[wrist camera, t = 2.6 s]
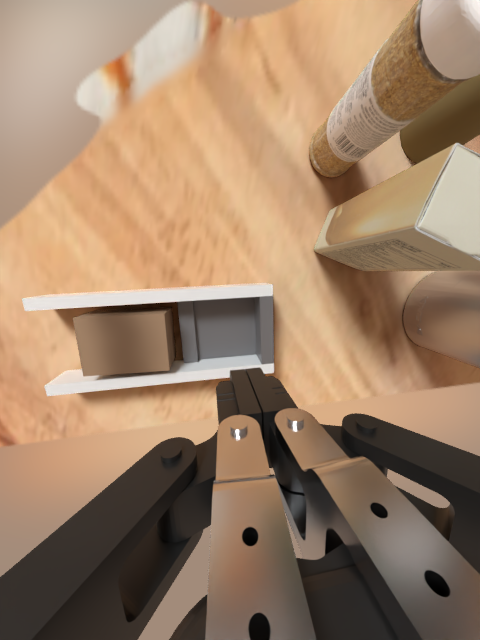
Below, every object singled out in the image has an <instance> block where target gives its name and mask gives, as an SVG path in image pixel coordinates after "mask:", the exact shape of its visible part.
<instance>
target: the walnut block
mask: <svg viewBox="0 0 480 640" xmlns="http://www.w3.org/2000/svg"><path fill="white" fill-rule="evenodd" d="M73 322H74V328H75V333H76V339H77V344H78V350H79V355H80V361H81V366H82V372H83V376H97V375H112V374H126V373H140V372H155V371H169V370H170V368H171V366H172V363H173V361H174V359H175V356H176V347H175V336H174V324H173V312H172V307H161V308H135V309H108V310H95V311H92V312H89V313H86V314H83V315H80V316H77V317H74V318H73Z"/></svg>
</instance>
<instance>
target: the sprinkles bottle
mask: <svg viewBox="0 0 480 640" xmlns="http://www.w3.org/2000/svg"><path fill="white" fill-rule="evenodd" d="M479 74H480V0H418V1H417V2H416V3H415V4H414V6H413V7H412V8H411V10H410V11H409V12H408V14H407V15H406V16H405V18H404V19H403V20H402V22H401V23H400V24H399V26H398V27H397V28H396V29H395V31H394V32H393V33H392V35H391V36H390V37H389V38H388V39H387V40H386V41H385V42H384V44H383V45H382V46H381V47H380V49H379V50H378V51H377V53H376V54H375V55H374V57H373V58H372V59H371V61H370V62H369V63H368V64H367V66H366V67H365V68H364V70H363V71H362V72H361V74H360V75H359V76H358V78H357V79H356V80H355V82H354V83H353V84H352V86H351V87H350V88H349V89H348V91H347V92H346V93H345V95H344V96H343V97H342V98H341V100H340V101H339V102H338V104H337V105H336V106H335V108H334V109H333V111H332V112H331V114H330V116H329V117H328V118H327V119H326V121H325V122H324V123H323V125H321V126H320V127H319V128H318V129H317V131H316V132H315V133H314V135H313V137H312V139H311V142H310V146H309V155H310V160H311V162H312V165H313V167H314V168H315V170H316V171H317V172H318V173H320V174H321V175H323V176H326V177H337V176H339V175H341V174H343V173H345V172H346V171H347V170H348V169H349V168H350V166H352V165H353V164H354V163H356V162H357V161H359V160H360V159H362V158H363V157H365V156H366V155H367V154H369V153H370V152H371V151H373V150H374V149H375V148H377V147H378V146H380V145H381V144H382V143H384V142H385V141H387V140H388V139H389V138H391V137H392V136H393V135H395V134H396V133H397V132H399V131H400V130H401V129H403V128H404V127H405V126H407V125H408V124H410V123H411V122H412V121H413V120H414V119H416V118H417V117H418V116H419V115H421V114H422V113H423V112H424V111H426V110H427V109H428V108H430V107H431V106H432V105H433V104H435V103H436V102H438V101H439V100H440V99H441V98H443V97H444V96H445V95H446V94H448V93H449V92H451V91H452V90H453V89H454V88H455V87H456V86H458V85H459V84H461V83H462V82H465V81H467V80H469V79H471V78H472V77H474V76H477V75H479Z"/></svg>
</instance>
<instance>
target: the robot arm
mask: <svg viewBox="0 0 480 640" xmlns="http://www.w3.org/2000/svg"><path fill="white" fill-rule="evenodd" d="M403 322H404V327H405V331H406V333H407V335H408V337H409V338H410V339H411V340H412V341H413V342H414V343H415V344H417V345H419V346H421V347H424V348H426V349H429V350H432V351H435V352H437V353H440V354H443V355H446V356H448V357H451V358H454V359H456V360H459V361H462V362H464V363H467V364H470V365H473V366H475V367H478V368H480V271H437V272H434V273H432V274H430V275H428V276H427V277H425V278H424V279H423V280H421V281H420V282H419V283H418V284H417V285H416V287H415V288H414V289H413V290H412V292H411V294H410V295H409V297H408V300H407V302H406V304H405V309H404V315H403ZM216 394H217V408H218V421H219V426H218V430H217V432H216V433H215V435H214V436H213V437H212V438H210V439H209V440H207V441H205V442H203V443H201V444H199V445H196V446H195V445H194V443H193V442H192V441H191V440H189V439H186V438H181V437H178V438H171V439H168V440H165V441H163V442H161V443H160V444H158V445H157V446H155V447H154V448H153V449H152V450H151V451H149V452H148V453H147V454H146V455H145V456H143V457H142V458H141V459H140V460H139V461H137V462H136V463H135V464H134V465H133V466H132V467H130V468H129V469H128V470H127V471H126V472H125V473H123V474H122V475H121V476H120V477H118V478H117V479H116V480H115V481H114V482H113V483H111V484H110V485H109V486H108V487H107V488H105V489H104V490H103V491H102V492H101V493H100V494H98V495H97V496H96V497H95V498H94V499H92V500H91V501H90V502H89V503H88V504H87V505H85V506H84V507H83V508H82V509H81V510H79V511H78V512H77V513H76V514H75V515H74V516H72V517H71V518H70V519H69V520H68V521H66V522H65V523H64V524H63V525H62V526H60V527H59V528H58V529H57V530H56V531H55V532H53V533H52V534H51V535H50V536H49V537H48V538H46V539H45V540H44V541H43V542H42V543H40V544H39V545H38V546H37V547H36V548H34V549H33V550H32V551H31V552H30V553H29V554H27V555H26V556H25V557H24V558H23V559H21V560H20V561H19V562H18V563H17V564H16V565H14V566H13V567H12V568H11V569H10V570H9V571H7V572H6V573H5V574H4V575H2V576H1V577H0V640H137V639H138V638H139V636H140V635H141V633H142V631H143V630H144V628H145V626H146V625H147V623H148V622H149V620H150V619H151V617H152V615H153V614H154V612H155V611H156V609H157V607H158V606H159V604H160V602H161V601H162V599H163V598H164V596H165V595H166V593H167V591H168V590H169V588H170V587H171V585H172V583H173V582H174V580H175V578H176V577H177V575H178V574H179V572H180V571H181V569H182V567H183V566H184V564H185V563H186V561H187V559H188V558H189V556H190V555H191V553H192V551H193V550H194V548H195V547H196V545H197V543H198V542H199V540H200V538H201V535H202V533H203V529H205V528H206V527H208V526H210V525H211V535H210V555H209V556H210V557H209V575H208V594H207V595H206V596H205V597H203V598H202V599H201V600H200V601H199V602H198V603H197V604H196V605H195V606H194V607H193V608H192V609H191V610H190V611H189V612H188V614H187V615H186V616H185V618H184V619H183V620H182V622H181V623H180V624H179V625H178V627H177V628H176V630H175V632H174V633H173V635H172V636H171V638H170V639H169V640H480V456H477V455H475V454H472V453H469V452H466V451H464V450H461V449H458V448H456V447H453V446H450V445H448V444H445V443H442V442H439V441H437V440H434V439H431V438H429V437H426V436H423V435H420V434H418V433H415V432H412V431H410V430H407V429H404V428H402V427H399V426H396V425H393V424H391V423H388V422H385V421H383V420H380V419H377V418H375V417H372V416H369V415H365V414H350V415H347V416H345V417H344V418H343V421H342V426H331V425H323V424H319V423H318V421H317V420H316V419H315V418H314V417H313V416H312V415H311V414H310V413H308V412H306V411H304V410H301V409H298V407H297V406H296V404H295V403H294V401H293V400H292V398H291V397H290V395H289V394H288V393H287V391H286V389H285V388H284V386H283V385H282V383H281V382H280V381H279V380H278V379H276V378H275V377H273V376H268V377H266V376H265V375H264V373H263V371H262V369H261V368H260V367H258V368H249V369H239V370H230V381H223V382H220V383H219V384H218V386H217V387H216ZM269 468H273V469H274V472H275V475H271V474H270V470H269ZM388 469H390V470H392V471H394V472H396V473H398V474H400V475H402V476H404V477H406V478H408V479H410V480H412V481H414V482H417V483H418V484H420V485H422V486H424V487H427V488H429V489H431V490H433V491H435V492H437V493H439V494H440V495H442V496H443V497H445V498H446V499H447V500H448V501H449V502H450V505H449V506H448V507H447V508H438V507H435V506H433V505H431V504H429V503H427V502H425V501H423V500H421V499H419V498H417V497H415V496H413V495H412V494H410V493H408V492H406V491H404V490H402V489H400V488H398V487H396V486H394V485H393V484H392V482H391V481H390V480H389V479H388V478H387V470H388ZM284 511H285V512H284ZM285 513H286V516H287V518H288V521H289V523H290V526H291V528H292V531H293V533H294V536H295V538H296V541H297V543H298V546H299V548H300V551H301V554H302V558H303V559H300V558H296V556H295V552H294V548H293V544H292V540H291V536H290V532H289V528H288V524H287V520H286V516H285Z"/></svg>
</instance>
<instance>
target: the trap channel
mask: <svg viewBox="0 0 480 640" xmlns="http://www.w3.org/2000/svg"><path fill="white" fill-rule="evenodd" d="M22 301H23V305H24V309H25V311H34V310H50V309H66V308H82V307H98V306H115V305H131V304H147V303H163V302H177V304H178V313H179V322H180V332H181V341H182V350H183V360H176V361H173V363H172V366H171V368H170V370H169V371H155V372H140V373H126V374H112V375H97V376H83V372H82V369H78V370H67V371H65V372H63V373H62V374H60V375H59V376H58V377H56V378H55V379H53V380H52V381H50V382H49V383H48V384H46V385H45V390H46V393H47V396H53V395H63V394H73V393H83V392H92V391H102V390H112V389H122V388H131V387H141V386H151V385H161V384H170V383H180V382H190V381H200V380H209V379H219V378H229V377H230V370H239V369H249V368H258V367H260V368H261V369H262V371H263V373H264V374H268V373H274V333H273V284H268V283H251V284H232V285H214V286H196V287H177V288H159V289H141V290H122V291H104V292H86V293H67V294H49V295H42V296H35V297H28V298H22Z"/></svg>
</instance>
